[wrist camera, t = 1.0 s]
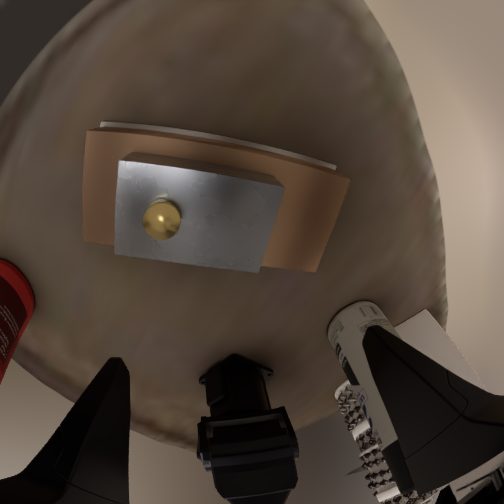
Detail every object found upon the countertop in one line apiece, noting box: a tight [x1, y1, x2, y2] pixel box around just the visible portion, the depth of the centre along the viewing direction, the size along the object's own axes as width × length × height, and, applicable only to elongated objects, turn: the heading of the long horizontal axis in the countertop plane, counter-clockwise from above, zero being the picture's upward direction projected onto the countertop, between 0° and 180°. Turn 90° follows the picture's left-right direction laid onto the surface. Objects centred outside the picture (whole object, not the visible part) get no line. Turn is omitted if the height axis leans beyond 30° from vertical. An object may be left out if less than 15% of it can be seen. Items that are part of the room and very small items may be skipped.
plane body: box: [82, 121, 351, 272], centre depth 17 cm, size 17×8×4 cm, turn 75°
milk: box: [394, 309, 488, 392], centre depth 23 cm, size 6×6×22 cm
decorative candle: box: [334, 380, 438, 504], centre depth 27 cm, size 9×9×25 cm
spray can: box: [328, 301, 416, 494], centre depth 20 cm, size 7×7×20 cm
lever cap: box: [114, 152, 285, 273], centre depth 14 cm, size 8×5×3 cm, turn 76°
